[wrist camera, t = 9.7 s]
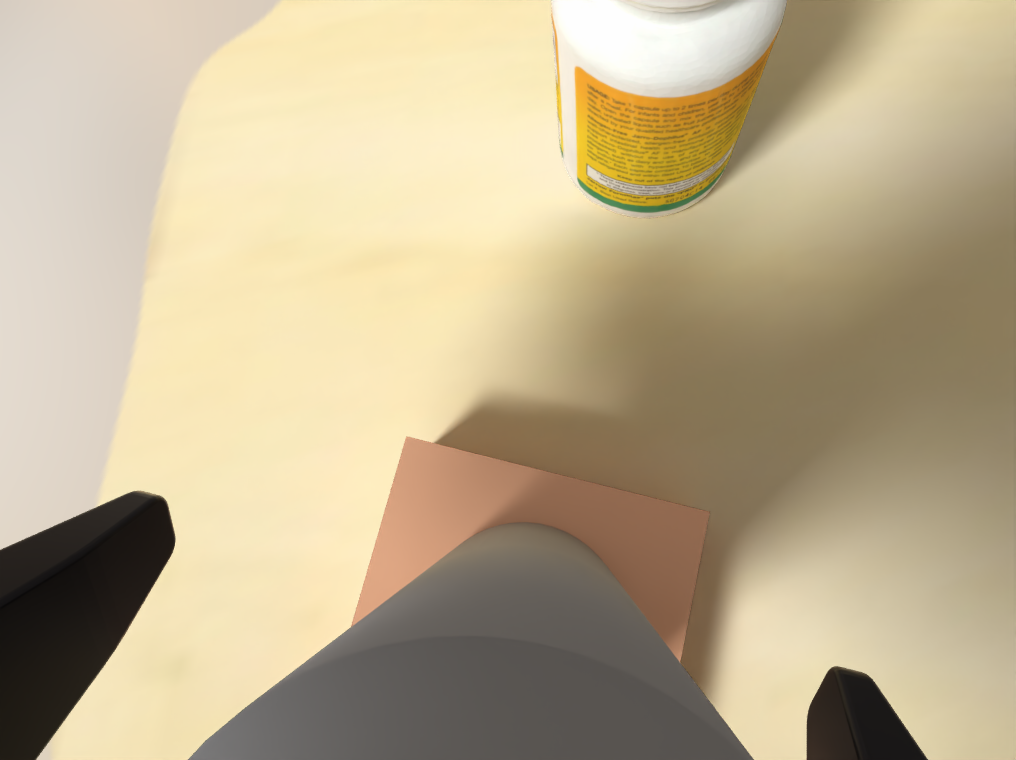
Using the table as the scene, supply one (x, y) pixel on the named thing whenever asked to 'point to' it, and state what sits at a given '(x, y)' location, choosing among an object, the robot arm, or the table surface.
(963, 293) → the table surface
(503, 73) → the table surface
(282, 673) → the table surface
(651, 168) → the supplement bottle
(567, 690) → the charcoal mill
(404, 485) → the terracotta block
